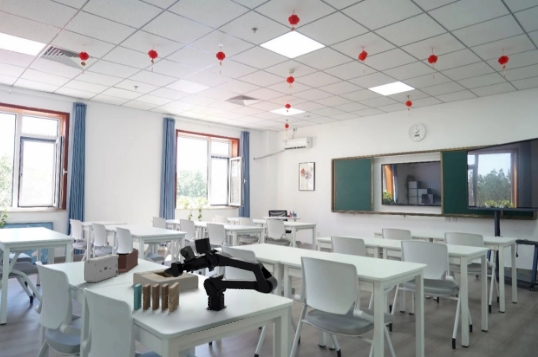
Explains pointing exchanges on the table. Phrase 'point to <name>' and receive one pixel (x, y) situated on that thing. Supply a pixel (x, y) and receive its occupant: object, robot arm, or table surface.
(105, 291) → the table surface
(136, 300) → the domino
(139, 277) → the box
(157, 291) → the domino
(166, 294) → the domino
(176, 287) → the square wooden board
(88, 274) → the stereo radio cassette player
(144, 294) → the domino
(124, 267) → the desk organizer
